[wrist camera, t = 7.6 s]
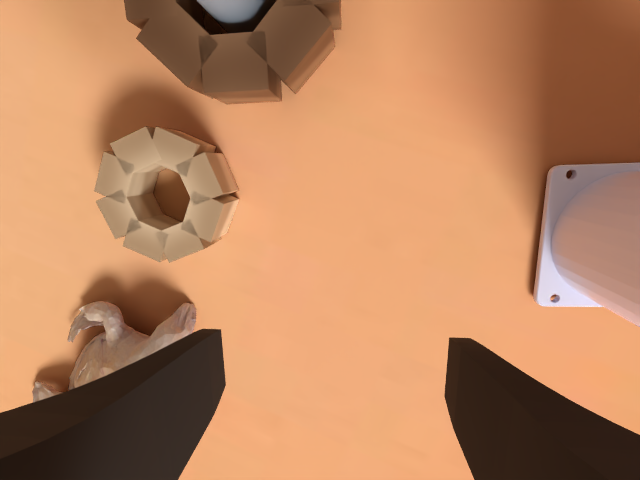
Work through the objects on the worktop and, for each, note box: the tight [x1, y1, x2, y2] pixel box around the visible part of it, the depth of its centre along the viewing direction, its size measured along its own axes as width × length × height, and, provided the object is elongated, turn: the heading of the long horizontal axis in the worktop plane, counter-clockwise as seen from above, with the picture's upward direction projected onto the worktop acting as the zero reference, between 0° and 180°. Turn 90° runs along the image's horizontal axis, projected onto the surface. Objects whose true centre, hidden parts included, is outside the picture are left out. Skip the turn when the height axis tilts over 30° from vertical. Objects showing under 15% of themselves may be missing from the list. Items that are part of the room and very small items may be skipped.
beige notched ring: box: [94, 126, 239, 263], centre depth 19 cm, size 7×7×2 cm
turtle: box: [33, 301, 196, 402], centre depth 21 cm, size 16×10×10 cm, turn 159°
